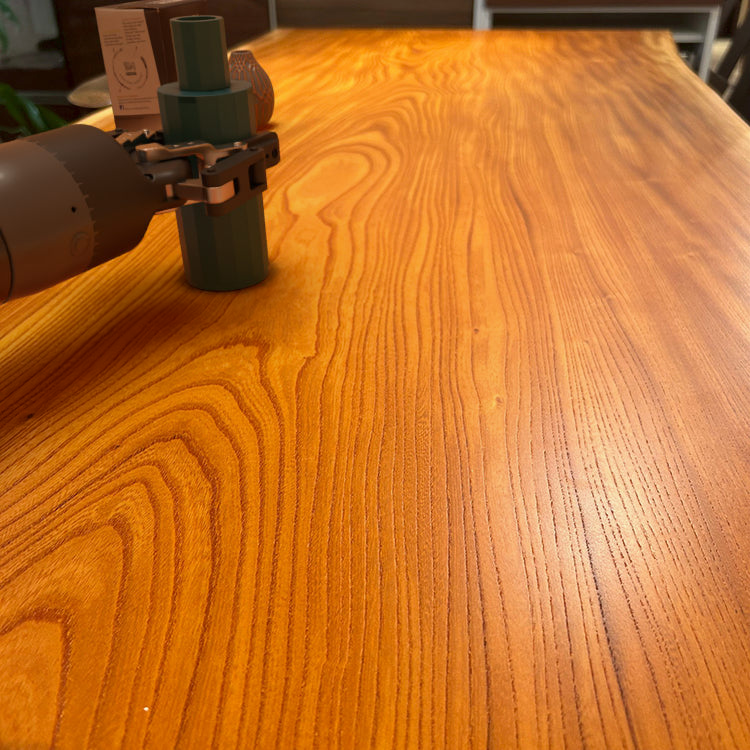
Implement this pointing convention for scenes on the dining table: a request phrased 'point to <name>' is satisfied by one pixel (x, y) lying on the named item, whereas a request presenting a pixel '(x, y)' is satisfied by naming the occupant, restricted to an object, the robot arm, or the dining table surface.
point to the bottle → (217, 126)
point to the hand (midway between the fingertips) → (234, 141)
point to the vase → (254, 84)
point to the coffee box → (140, 56)
